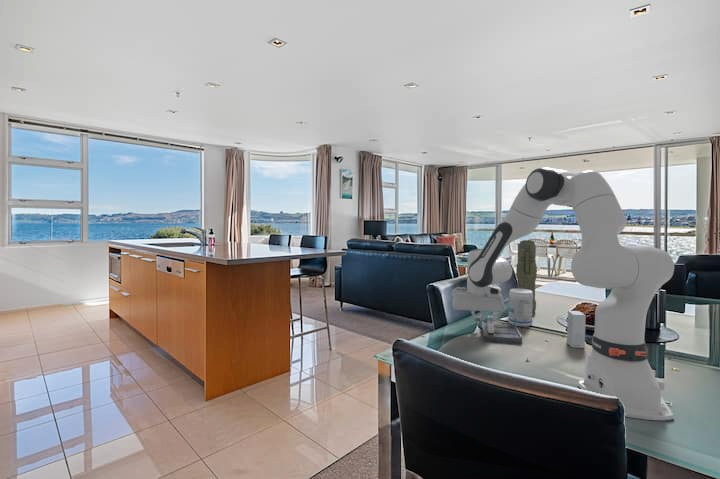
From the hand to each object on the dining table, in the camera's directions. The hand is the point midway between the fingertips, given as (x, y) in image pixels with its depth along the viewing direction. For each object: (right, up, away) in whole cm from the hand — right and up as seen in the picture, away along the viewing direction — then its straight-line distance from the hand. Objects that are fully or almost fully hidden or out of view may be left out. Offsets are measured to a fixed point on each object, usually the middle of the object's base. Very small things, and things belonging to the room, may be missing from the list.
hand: (477, 321), depth 155 cm
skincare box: (+30, -5, -18) cm, 35 cm away
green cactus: (+31, -2, +26) cm, 41 cm away
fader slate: (+5, -2, -1) cm, 5 cm away
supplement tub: (+21, -3, +9) cm, 23 cm away
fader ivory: (+2, -2, -9) cm, 9 cm away
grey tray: (+7, -4, -6) cm, 10 cm away
